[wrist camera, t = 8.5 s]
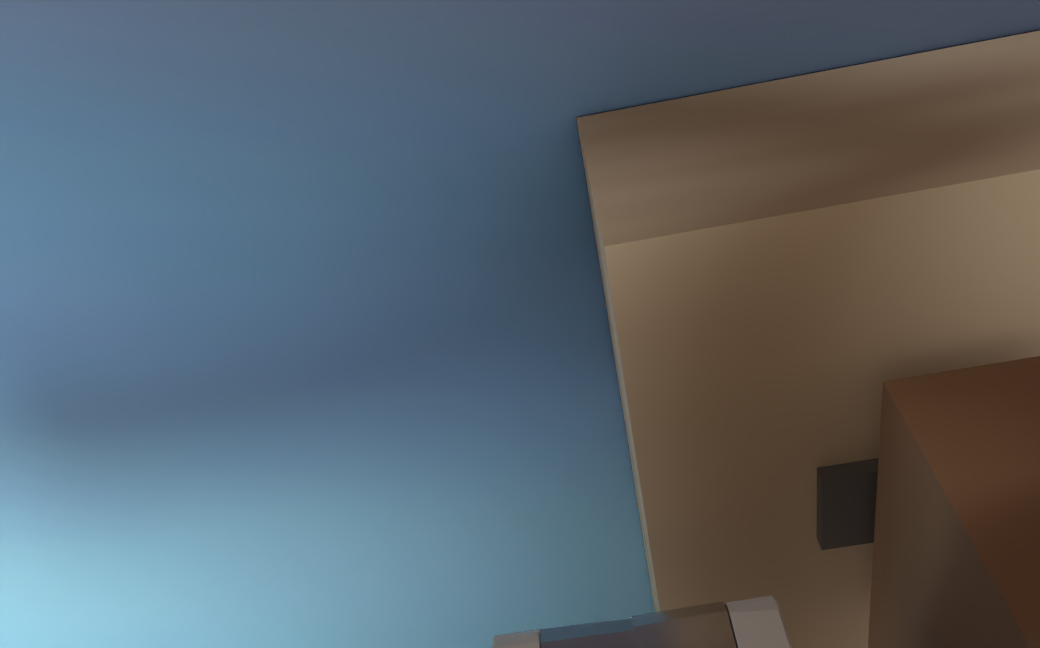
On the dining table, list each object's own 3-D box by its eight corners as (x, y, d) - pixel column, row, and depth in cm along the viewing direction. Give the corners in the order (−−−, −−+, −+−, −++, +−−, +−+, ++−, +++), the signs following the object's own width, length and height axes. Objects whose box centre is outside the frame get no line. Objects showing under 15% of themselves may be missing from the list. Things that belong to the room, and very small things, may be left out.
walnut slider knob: (1090, 347, 9) (1315, 601, 7) (1029, 623, 12) (1175, 878, 9) (882, 381, 9) (1027, 641, 7) (868, 645, 12) (969, 903, 9)
